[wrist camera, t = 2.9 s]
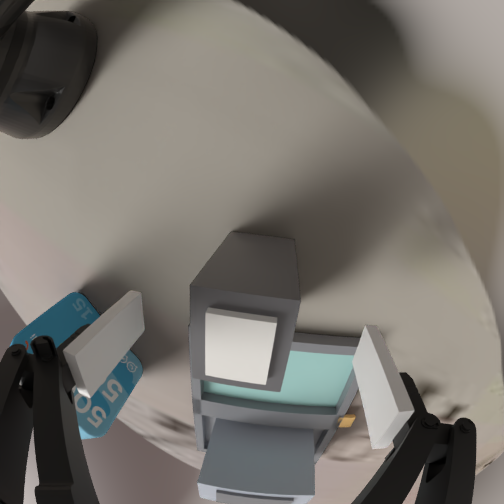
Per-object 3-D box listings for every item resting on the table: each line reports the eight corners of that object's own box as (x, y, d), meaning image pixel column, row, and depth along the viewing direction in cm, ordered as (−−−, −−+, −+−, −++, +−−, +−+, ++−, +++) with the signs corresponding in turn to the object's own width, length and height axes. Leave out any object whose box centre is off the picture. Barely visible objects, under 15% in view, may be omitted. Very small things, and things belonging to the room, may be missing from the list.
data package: (147, 367, 28) (100, 444, 16) (127, 377, 29) (83, 445, 18) (79, 286, 26) (5, 342, 14) (64, 303, 27) (-1, 356, 16)
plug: (231, 231, 22) (186, 289, 12) (294, 239, 21) (301, 306, 11) (226, 298, 24) (189, 383, 14) (283, 306, 23) (279, 398, 13)
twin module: (216, 416, 29) (196, 485, 19) (313, 427, 28) (314, 498, 18) (216, 439, 31) (199, 500, 21) (302, 449, 30) (301, 511, 20)
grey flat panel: (193, 317, 25) (188, 325, 23) (385, 339, 23) (390, 348, 22) (199, 442, 32) (197, 450, 31) (324, 456, 30) (325, 464, 29)
